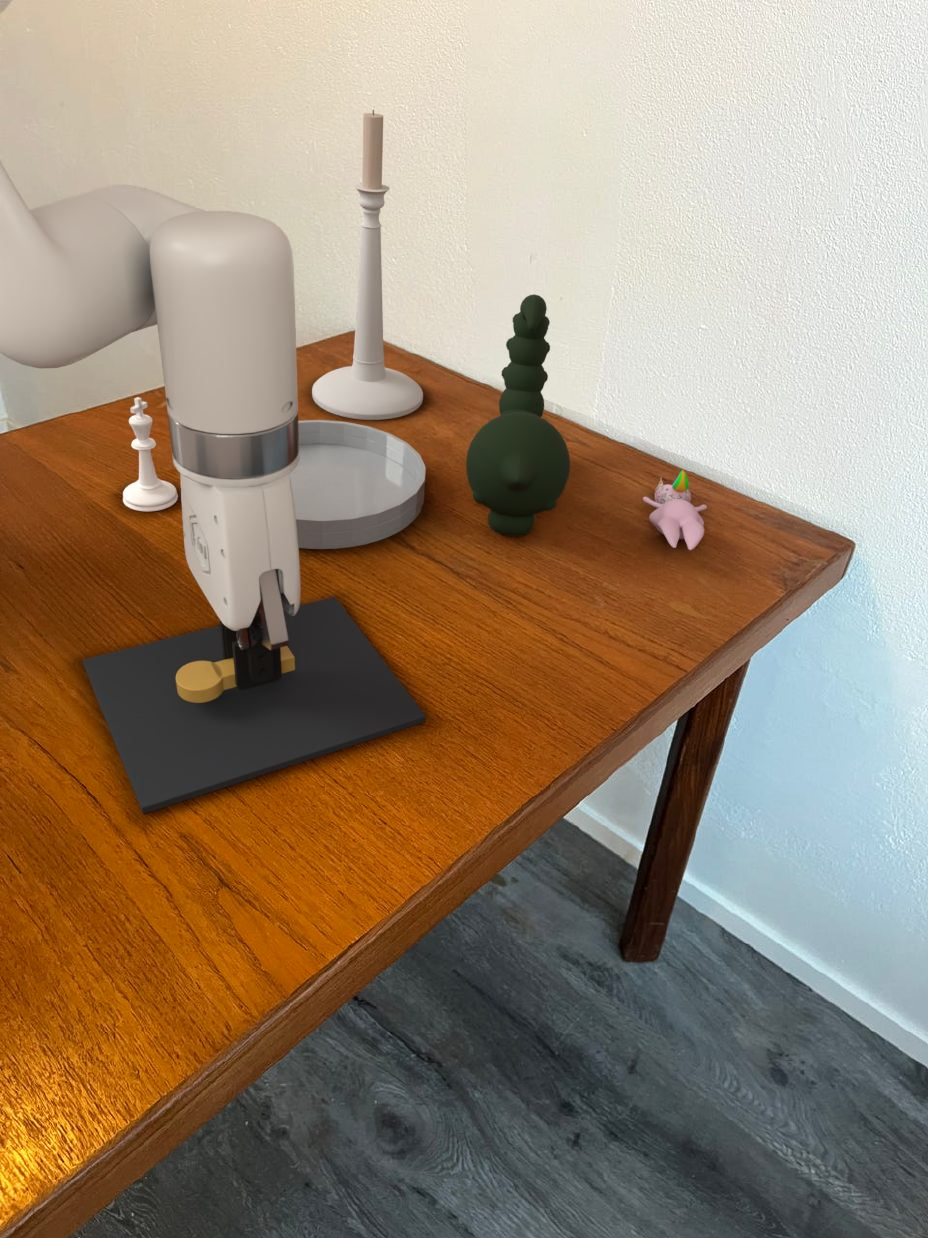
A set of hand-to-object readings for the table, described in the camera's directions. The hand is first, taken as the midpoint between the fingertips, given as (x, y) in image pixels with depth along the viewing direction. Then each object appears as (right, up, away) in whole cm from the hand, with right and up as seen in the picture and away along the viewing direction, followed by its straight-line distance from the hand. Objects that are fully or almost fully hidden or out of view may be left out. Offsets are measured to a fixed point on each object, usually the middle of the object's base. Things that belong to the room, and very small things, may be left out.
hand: (252, 671), depth 69 cm
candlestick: (+4, +30, +44) cm, 53 cm away
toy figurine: (+20, +15, +27) cm, 37 cm away
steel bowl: (+1, +16, +25) cm, 30 cm away
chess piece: (-14, +15, +22) cm, 30 cm away
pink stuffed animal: (+35, +12, +25) cm, 44 cm away
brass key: (-1, 0, 0) cm, 1 cm away
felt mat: (0, -2, +1) cm, 2 cm away
